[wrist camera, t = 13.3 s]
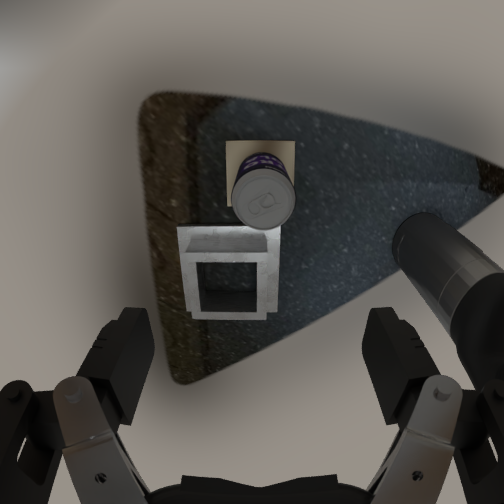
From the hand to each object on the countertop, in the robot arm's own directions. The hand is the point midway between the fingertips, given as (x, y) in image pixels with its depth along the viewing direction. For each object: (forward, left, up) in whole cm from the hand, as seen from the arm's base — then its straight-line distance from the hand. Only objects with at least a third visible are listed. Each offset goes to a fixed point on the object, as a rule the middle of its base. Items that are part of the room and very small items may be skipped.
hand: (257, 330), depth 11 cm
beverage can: (-1, +1, -29) cm, 29 cm away
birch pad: (-1, +1, -30) cm, 30 cm away
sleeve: (+3, +14, -30) cm, 33 cm away
